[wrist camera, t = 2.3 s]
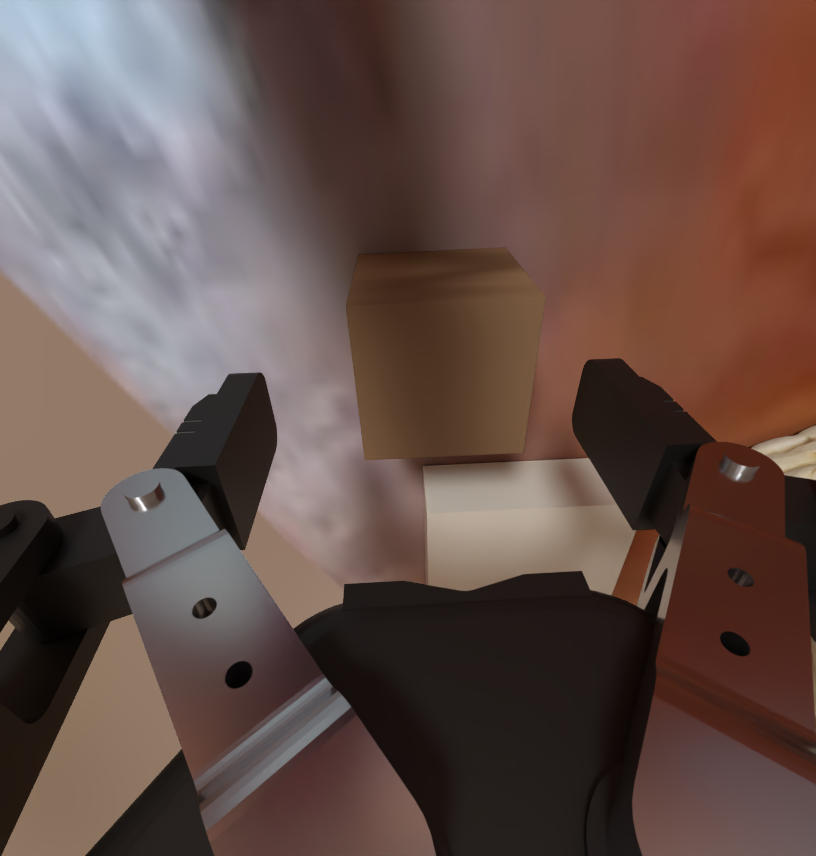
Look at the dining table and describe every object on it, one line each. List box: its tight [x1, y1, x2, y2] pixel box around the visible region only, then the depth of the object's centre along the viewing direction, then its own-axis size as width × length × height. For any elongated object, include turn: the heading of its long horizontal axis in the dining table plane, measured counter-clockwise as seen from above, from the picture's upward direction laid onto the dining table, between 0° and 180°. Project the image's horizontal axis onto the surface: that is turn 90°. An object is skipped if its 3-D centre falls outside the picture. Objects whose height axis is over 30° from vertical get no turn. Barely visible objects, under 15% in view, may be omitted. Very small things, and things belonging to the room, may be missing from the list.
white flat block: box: [423, 458, 636, 595], centre depth 22 cm, size 9×9×3 cm
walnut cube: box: [346, 248, 546, 460], centre depth 15 cm, size 5×5×5 cm
